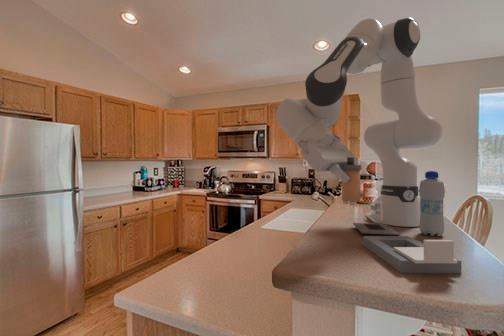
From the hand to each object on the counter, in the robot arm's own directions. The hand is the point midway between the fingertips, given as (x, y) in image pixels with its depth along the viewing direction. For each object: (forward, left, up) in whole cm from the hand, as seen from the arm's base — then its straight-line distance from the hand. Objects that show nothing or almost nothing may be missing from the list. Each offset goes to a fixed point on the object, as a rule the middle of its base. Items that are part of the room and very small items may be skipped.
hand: (353, 180), depth 61 cm
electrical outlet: (-20, +14, -19) cm, 31 cm away
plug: (0, 0, -6) cm, 6 cm away
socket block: (+2, +11, -18) cm, 22 cm away
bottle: (-18, +31, -18) cm, 41 cm away
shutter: (+9, +11, -16) cm, 21 cm away
